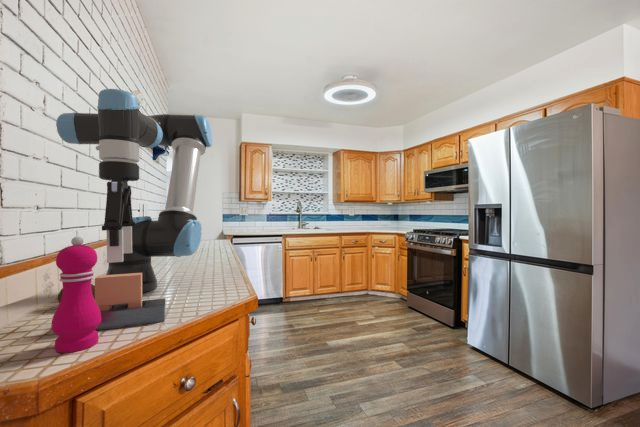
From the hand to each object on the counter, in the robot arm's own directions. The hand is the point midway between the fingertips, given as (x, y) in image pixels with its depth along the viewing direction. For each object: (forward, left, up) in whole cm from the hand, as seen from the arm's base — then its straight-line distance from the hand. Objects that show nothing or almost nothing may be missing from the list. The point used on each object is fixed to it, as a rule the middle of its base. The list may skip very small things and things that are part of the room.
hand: (120, 257), depth 69 cm
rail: (0, 0, -14) cm, 14 cm away
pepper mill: (+11, -5, -15) cm, 19 cm away
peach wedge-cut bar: (0, 0, -14) cm, 14 cm away
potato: (-19, -12, -15) cm, 26 cm away
